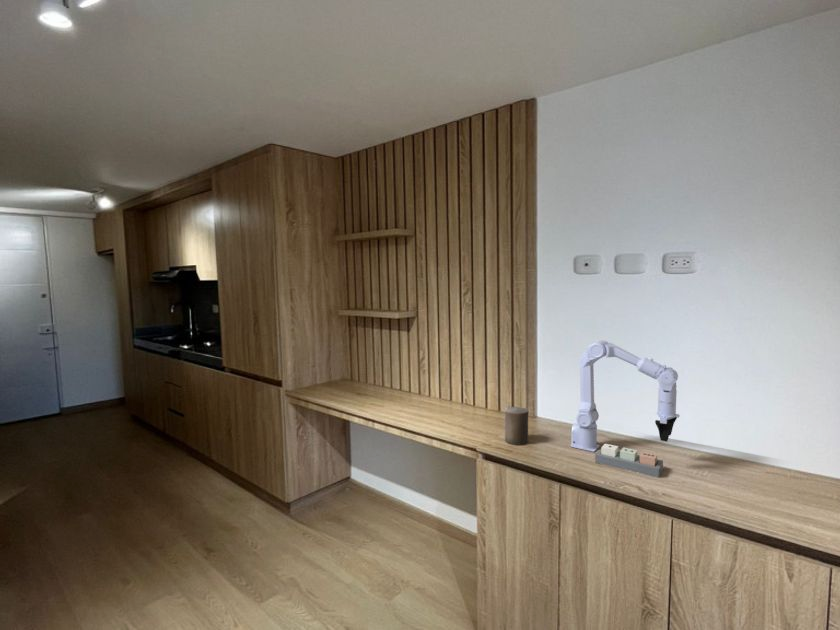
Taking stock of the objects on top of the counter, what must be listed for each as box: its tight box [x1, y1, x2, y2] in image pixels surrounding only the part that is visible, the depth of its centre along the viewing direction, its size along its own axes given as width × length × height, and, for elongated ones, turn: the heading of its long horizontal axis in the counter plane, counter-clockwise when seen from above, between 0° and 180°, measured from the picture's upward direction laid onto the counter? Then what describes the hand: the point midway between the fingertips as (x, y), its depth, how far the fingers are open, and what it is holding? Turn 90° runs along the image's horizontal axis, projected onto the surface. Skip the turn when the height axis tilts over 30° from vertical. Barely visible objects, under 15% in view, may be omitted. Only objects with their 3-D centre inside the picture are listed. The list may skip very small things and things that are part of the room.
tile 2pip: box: [619, 447, 638, 462], centre depth 158 cm, size 5×5×4 cm
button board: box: [594, 447, 664, 478], centre depth 158 cm, size 21×9×3 cm, turn 52°
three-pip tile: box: [640, 451, 658, 466], centre depth 154 cm, size 5×5×4 cm
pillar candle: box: [504, 406, 529, 446], centre depth 183 cm, size 10×10×15 cm
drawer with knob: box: [600, 443, 619, 457], centre depth 162 cm, size 5×5×4 cm
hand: (665, 437), depth 158 cm, fingers open, 7 cm apart
